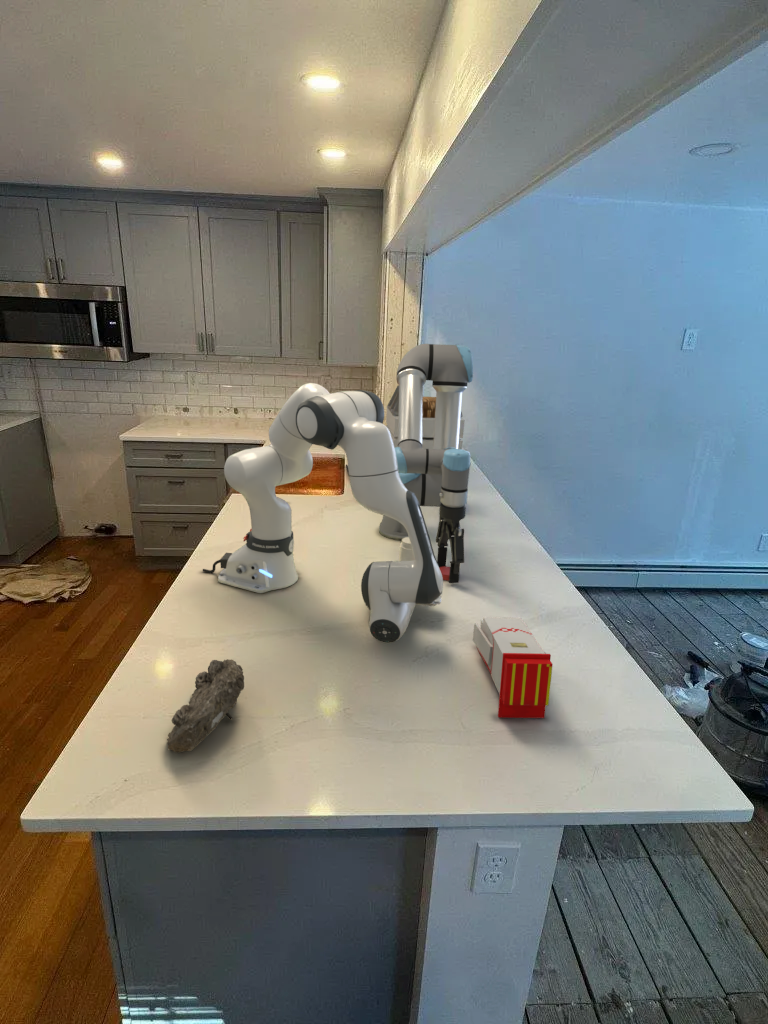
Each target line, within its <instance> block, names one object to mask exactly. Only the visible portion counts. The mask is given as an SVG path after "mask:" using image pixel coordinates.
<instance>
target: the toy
mask: <svg viewBox="0 0 768 1024" xmlns="http://www.w3.org/2000/svg"><path fill="white" fill-rule="evenodd" d="M482 617H483V618H482V619H480V624H478V623H477V622H474V625H473V633H472V641H473V643H474V645H475V647H476V649H477V651H478V653H479V655H480V656H481V658H482V660H483V663H484V664H485V666H486V668H487V670H488V673H489V674H490V675H491V676H490V677H491V679H492V680H493V683H494V685H495V688H496V690H497V692H498V694H499V696H498V697H499V698H498V707H497V708H498V711H497V718H500V719H501V718H504V719H505V718H507V719H509V718H511V719H513V718H514V719H545V716H546V715H545V714H546V706H549V703H550V693H551V684H552V683H551V682H552V673H553V662H552V661H551V653H545V651H544V649H543V647H542V646H541V645H540V643H539V642H538V640H537V639H536V638H535V636H534V635H533V633H532V631H531V630H530V629H529V627H528V624H527V622H525V621H524V620H523V619H522V617H511V616H510V617H508V616H507V617H504V616H482Z"/></svg>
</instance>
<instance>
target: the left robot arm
mask: <svg viewBox="0 0 768 1024" xmlns="http://www.w3.org/2000/svg"><path fill="white" fill-rule="evenodd" d="M384 420H385V407H384V404H383V402H382V400H381V398H380V397H379V396H378V394H376V393H374V392H372V391H369V390H363V389H357V390H346V391H336V392H332V393H330V392H329V390H327V388H326V387H324V386H323V385H321V384H319V383H316V382H315V383H314V382H308V383H304V384H302V385H301V386H299V387H298V388H297V389H296V390H295V391H294V392H293V393H292V394H291V396H290V397H289V398H288V399H287V400H286V401H285V403H284V404H283V405H282V407H281V409H280V411H279V412H278V414H277V415H276V416H275V418H274V419H273V421H272V423H271V424H270V426H269V429H268V439H269V443H270V444H268V445H265V446H264V445H263V446H259V447H258V446H257V447H252V448H245V449H242V450H240V451H238V452H235V453H233V454H231V455H229V456H228V457H227V458H226V460H225V462H224V467H223V471H224V472H223V475H224V478H225V480H226V482H227V484H228V486H229V487H231V488H232V489H233V490H234V491H236V492H237V493H239V494H240V495H242V496H243V498H244V499H245V501H246V502H247V505H248V508H249V514H250V525H251V527H250V530H249V531H248V532H247V533H246V535H245V536H244V537H243V538H242V539H243V542H246V543H245V544H243V545H241V546H240V547H239V548H237V549H236V550H234V551H233V552H225V553H224V554H223V555H222V556H221V558H220V559H217V560H215V561H214V562H213V563H212V568H211V569H207V568H202V572H203V573H208V574H213V573H214V572H216V566H217V565H218V564H220V569H222V570H220V572H219V573H218V577H217V578H218V579H217V581H218V583H221V584H223V585H228V586H232V587H235V588H240V589H243V590H245V591H246V590H247V591H249V592H255V593H257V594H264V593H267V592H270V591H275V590H281V589H285V588H288V587H291V586H293V585H294V584H296V582H298V580H299V574H298V571H297V568H296V564H295V558H294V557H295V556H294V551H295V549H294V548H295V539H294V531H293V527H292V525H293V523H292V522H293V521H292V520H293V519H292V517H293V516H292V511H293V509H292V507H291V506H290V504H289V502H288V501H286V500H285V499H284V498H282V497H278V496H277V494H276V487H279V486H283V485H286V484H291V483H295V482H297V481H299V480H302V479H304V478H306V477H308V476H309V475H310V474H311V472H312V470H313V466H314V459H313V455H312V453H311V451H310V449H311V447H312V446H313V445H315V446H320V447H324V448H326V449H328V450H331V451H332V450H335V449H336V448H337V447H338V446H339V448H341V449H342V451H344V453H345V455H346V460H347V466H348V470H349V475H348V477H349V485H350V489H351V490H350V491H351V493H352V496H353V498H354V500H355V501H356V502H357V503H358V504H359V505H360V506H361V507H363V508H364V509H366V510H367V511H370V512H372V513H375V514H377V515H378V514H379V515H382V516H383V515H385V516H388V517H390V518H393V519H395V520H397V521H398V522H400V523H401V524H402V525H403V526H404V527H405V528H406V530H407V533H408V536H409V539H410V543H411V546H412V550H413V553H414V556H415V560H413V561H399V560H381V561H372V562H371V563H370V564H369V565H368V566H367V567H366V569H364V572H363V574H362V577H361V583H360V589H361V590H360V591H361V596H362V600H363V603H364V604H365V606H366V607H367V608H368V610H369V611H370V617H369V623H368V628H369V629H368V630H369V633H370V635H371V636H372V637H373V638H374V639H375V640H377V642H379V643H386V644H389V643H396V642H397V641H399V640H400V639H401V638H402V637H403V635H404V634H405V633H406V631H407V629H408V626H409V625H410V622H411V617H412V615H413V612H414V611H415V607H416V605H419V606H426V607H435V606H437V605H440V604H441V603H442V601H443V600H442V597H443V591H444V580H443V577H442V573H441V571H440V568H439V565H438V563H437V557H436V555H435V552H434V548H433V545H432V541H431V538H430V535H429V531H428V528H427V527H428V526H427V524H426V519H425V517H424V513H423V511H422V508H421V507H422V506H420V504H419V502H418V500H417V497H416V496H415V494H414V493H413V492H411V491H409V490H407V489H406V487H405V486H404V484H403V483H402V481H401V478H400V476H399V471H398V464H397V457H396V452H395V448H394V444H393V440H392V437H391V434H390V431H389V429H388V428H387V427H386V426H387V425H385V424H384Z"/></svg>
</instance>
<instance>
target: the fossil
mask: <svg viewBox="0 0 768 1024" xmlns="http://www.w3.org/2000/svg"><path fill="white" fill-rule="evenodd" d="M243 670H244V669H243V667H242V665H240V664H237V662H236V661H235V660H234V659H232V658H231V659H227V658H226V659H224V660H223V661H222V660H217V659H212V660H211V661H210V663H209V665H208V666H207V671H201V672H199V673H198V674H197V675H196V676H195V680H194V684H195V685H194V687H195V689H194V690H193V693H192V694H191V697H190V698H189V700H188V704H184V705H182V706H181V707H180V709H177V710H176V711H175V713H174V715H173V716H172V718H171V723H172V724H173V727H172V730H171V731H170V732H168V734H167V738H166V741H167V742H166V745H167V749H168V750H169V751H173V752H174V753H176V754H178V753H182V752H188V751H189V752H192V751H193V750H195V748H196V747H197V746H199V744H200V743H201V742H203V741H204V740H205V739H206V738H207V737H208V736H209V735H210V734H211V733H212V732H214V730H215V729H217V727H218V726H219V724H220V722H221V721H222V720H223V719H224V718H225V716H226V717H227V719H229V720H233V717H232V715H230V714H229V710H230V709H231V708H234V706H235V704H236V703H237V702H238V699H239V697H240V695H241V693H242V691H243V690H245V689H244V688H245V675H244V671H243Z"/></svg>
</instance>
